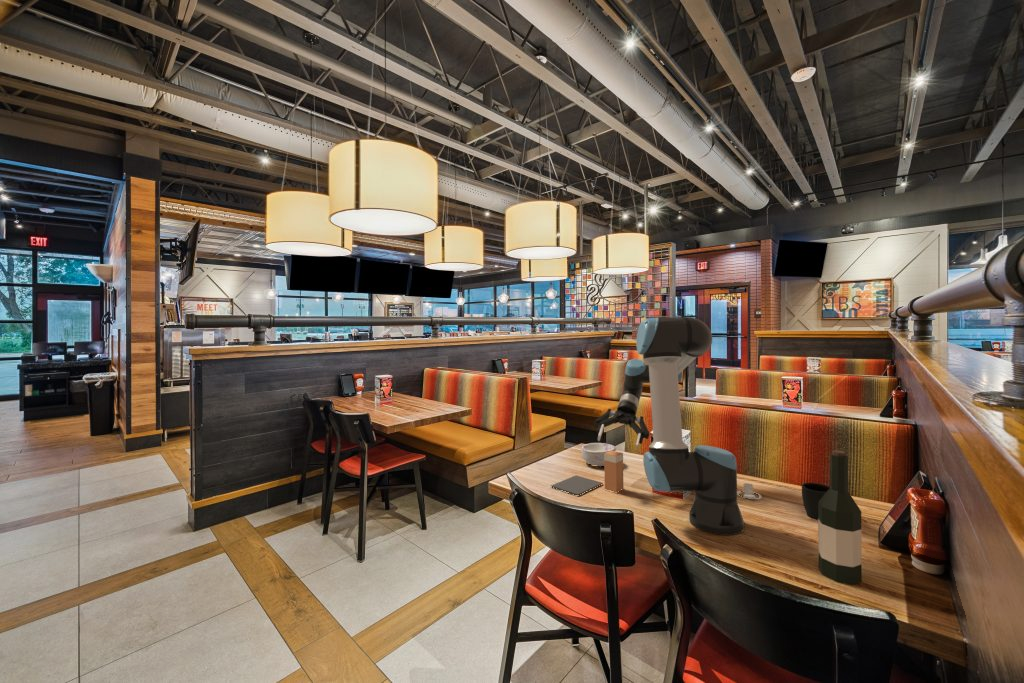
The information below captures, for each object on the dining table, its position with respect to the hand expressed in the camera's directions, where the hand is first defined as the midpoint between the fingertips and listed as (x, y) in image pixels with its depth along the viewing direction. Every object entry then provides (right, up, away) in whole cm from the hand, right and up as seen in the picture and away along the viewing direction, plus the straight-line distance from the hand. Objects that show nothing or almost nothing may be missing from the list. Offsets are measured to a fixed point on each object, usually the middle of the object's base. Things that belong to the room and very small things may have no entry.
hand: (617, 443), depth 153 cm
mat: (-13, -19, +10) cm, 26 cm away
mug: (+59, -19, -22) cm, 66 cm away
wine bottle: (+41, -20, -51) cm, 69 cm away
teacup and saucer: (+44, -19, -2) cm, 48 cm away
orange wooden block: (0, -19, +6) cm, 20 cm away
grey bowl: (+1, -19, +37) cm, 42 cm away
